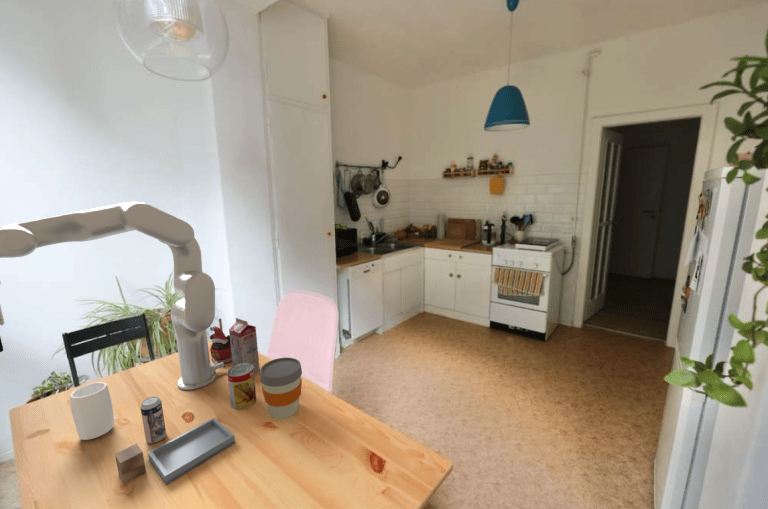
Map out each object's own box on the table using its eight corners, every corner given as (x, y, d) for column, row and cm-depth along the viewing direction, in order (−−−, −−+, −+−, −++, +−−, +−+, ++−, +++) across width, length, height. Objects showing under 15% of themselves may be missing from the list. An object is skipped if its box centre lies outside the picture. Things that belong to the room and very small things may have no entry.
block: (140, 463, 86) (136, 443, 85) (146, 472, 83) (142, 451, 82) (118, 475, 82) (114, 454, 81) (124, 484, 80) (120, 463, 78)
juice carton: (244, 379, 123) (239, 324, 119) (233, 374, 127) (228, 320, 122) (259, 371, 129) (254, 318, 124) (248, 367, 132) (243, 315, 128)
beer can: (156, 446, 92) (150, 407, 89) (142, 443, 92) (135, 405, 90) (170, 433, 96) (164, 396, 94) (156, 431, 97) (150, 394, 95)
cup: (123, 427, 99) (115, 384, 96) (90, 447, 91) (81, 401, 89) (103, 421, 102) (95, 379, 99) (71, 440, 94) (61, 395, 91)
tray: (215, 424, 100) (214, 417, 99) (235, 443, 92) (234, 435, 92) (149, 460, 87) (147, 452, 86) (166, 485, 79) (164, 476, 79)
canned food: (260, 401, 110) (257, 368, 108) (237, 413, 105) (233, 378, 102) (249, 392, 116) (246, 360, 113) (226, 402, 110) (223, 369, 108)
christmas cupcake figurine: (242, 355, 142) (238, 315, 139) (228, 366, 133) (223, 324, 130) (221, 352, 144) (216, 313, 141) (205, 363, 135) (200, 322, 132)
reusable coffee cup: (265, 428, 98) (261, 382, 95) (261, 403, 109) (258, 362, 106) (307, 416, 103) (305, 372, 100) (300, 394, 114) (297, 353, 111)
